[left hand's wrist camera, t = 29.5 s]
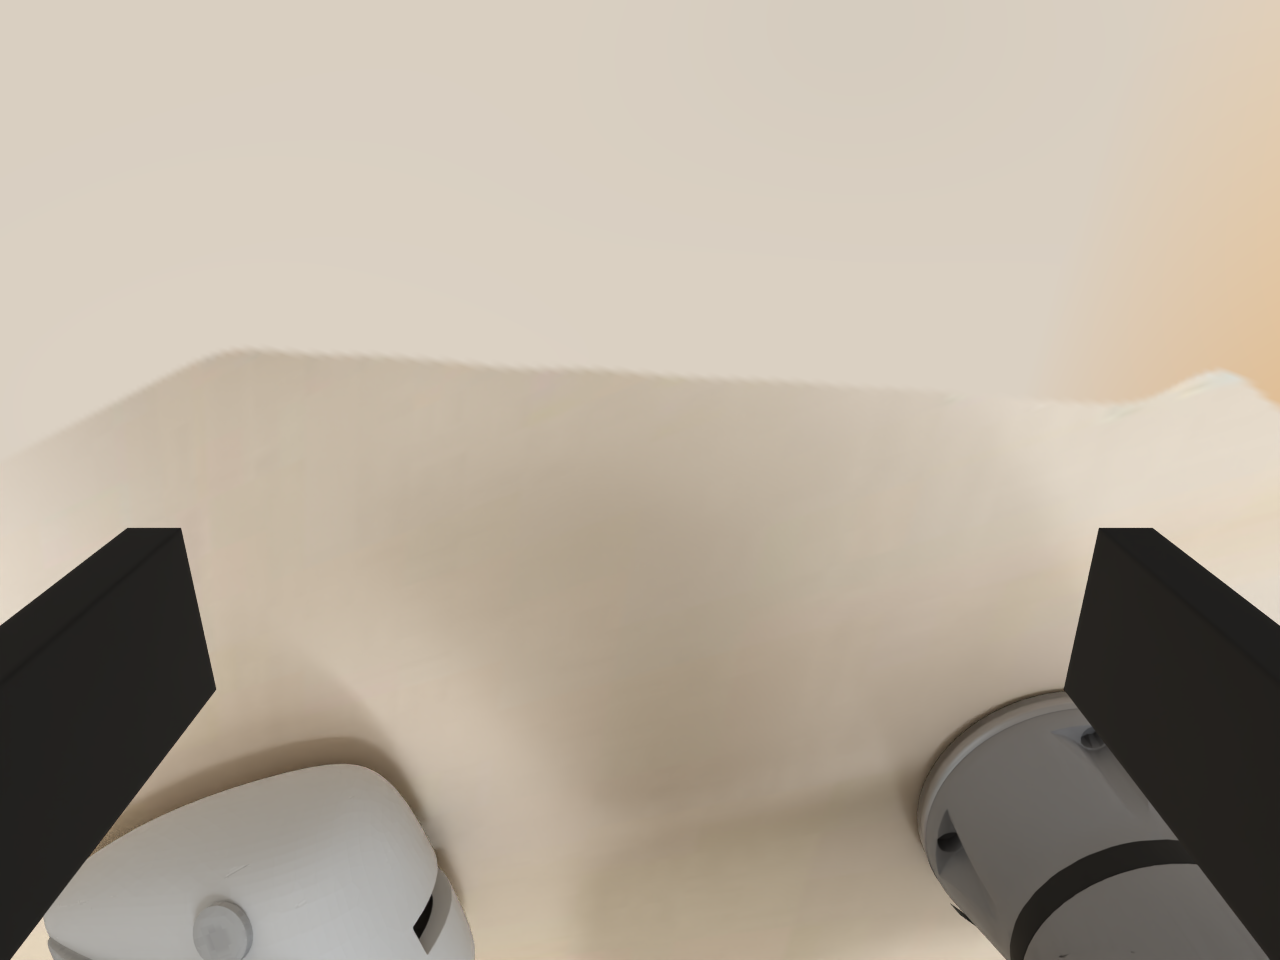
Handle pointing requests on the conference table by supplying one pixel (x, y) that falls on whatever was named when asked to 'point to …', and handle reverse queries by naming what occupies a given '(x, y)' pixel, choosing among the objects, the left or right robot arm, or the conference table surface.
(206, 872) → the projector
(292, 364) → the conference table surface
